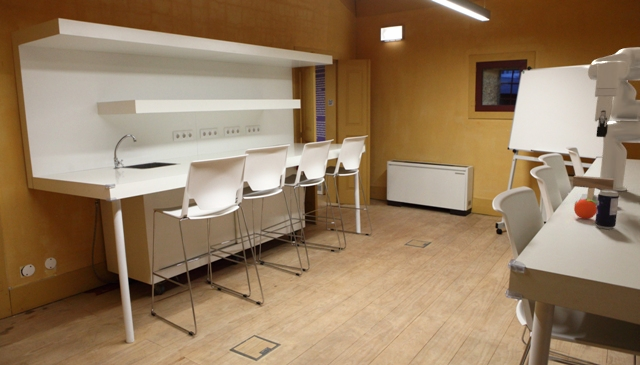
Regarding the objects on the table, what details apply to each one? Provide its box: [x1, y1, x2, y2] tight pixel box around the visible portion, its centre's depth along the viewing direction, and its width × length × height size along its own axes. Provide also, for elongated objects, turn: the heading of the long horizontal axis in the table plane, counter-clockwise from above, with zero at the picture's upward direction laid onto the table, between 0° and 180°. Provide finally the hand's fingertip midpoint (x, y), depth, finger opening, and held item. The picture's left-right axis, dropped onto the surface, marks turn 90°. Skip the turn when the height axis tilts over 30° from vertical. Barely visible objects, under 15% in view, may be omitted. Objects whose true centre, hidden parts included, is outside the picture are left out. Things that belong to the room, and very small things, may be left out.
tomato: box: [573, 199, 597, 220], centre depth 160 cm, size 8×7×7 cm
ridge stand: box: [578, 188, 598, 207], centre depth 190 cm, size 18×7×6 cm, turn 146°
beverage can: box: [594, 189, 620, 230], centre depth 149 cm, size 6×6×12 cm
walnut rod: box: [572, 175, 614, 190], centre depth 187 cm, size 4×14×4 cm, turn 56°
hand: (601, 135), depth 188 cm, fingers open, 9 cm apart
